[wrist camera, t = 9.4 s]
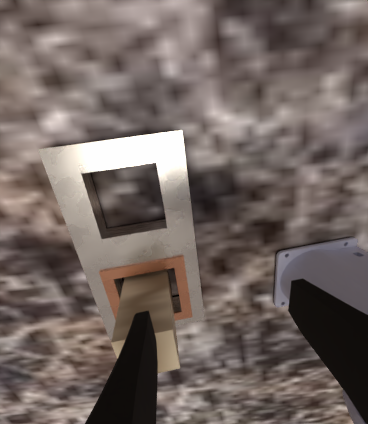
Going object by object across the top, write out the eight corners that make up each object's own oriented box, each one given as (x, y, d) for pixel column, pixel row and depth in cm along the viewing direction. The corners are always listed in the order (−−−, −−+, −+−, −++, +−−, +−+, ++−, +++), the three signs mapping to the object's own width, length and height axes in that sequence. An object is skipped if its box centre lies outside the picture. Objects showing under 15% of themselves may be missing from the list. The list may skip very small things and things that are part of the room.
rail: (179, 130, 17) (182, 129, 15) (200, 305, 24) (205, 321, 22) (51, 147, 16) (36, 149, 14) (113, 323, 23) (109, 341, 21)
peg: (166, 260, 21) (172, 329, 13) (171, 290, 22) (180, 368, 15) (126, 267, 21) (111, 342, 13) (134, 297, 22) (125, 380, 15)
